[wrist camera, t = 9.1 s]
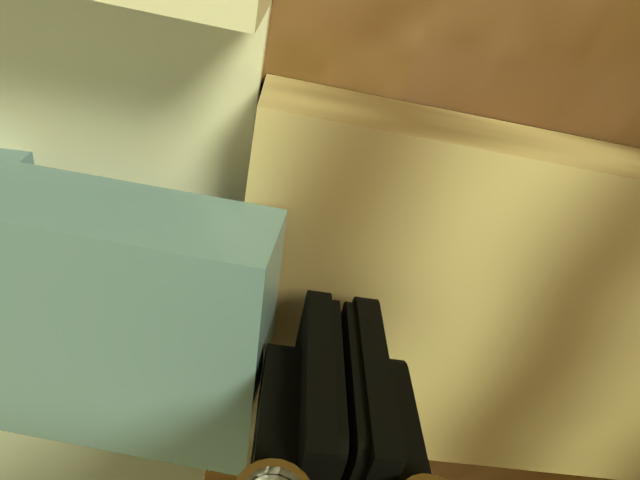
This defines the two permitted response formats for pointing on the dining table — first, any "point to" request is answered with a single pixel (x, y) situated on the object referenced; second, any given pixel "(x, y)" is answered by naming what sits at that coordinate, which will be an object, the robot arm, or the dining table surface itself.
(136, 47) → the tray
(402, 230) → the board
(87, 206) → the tile
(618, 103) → the dining table surface
